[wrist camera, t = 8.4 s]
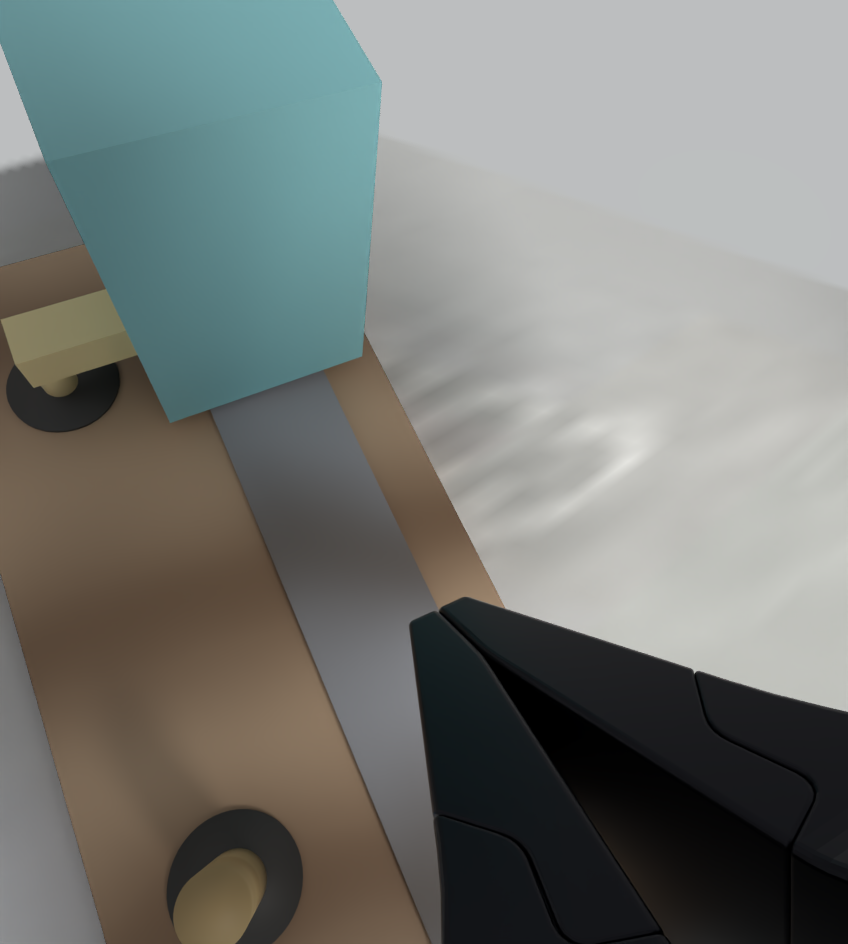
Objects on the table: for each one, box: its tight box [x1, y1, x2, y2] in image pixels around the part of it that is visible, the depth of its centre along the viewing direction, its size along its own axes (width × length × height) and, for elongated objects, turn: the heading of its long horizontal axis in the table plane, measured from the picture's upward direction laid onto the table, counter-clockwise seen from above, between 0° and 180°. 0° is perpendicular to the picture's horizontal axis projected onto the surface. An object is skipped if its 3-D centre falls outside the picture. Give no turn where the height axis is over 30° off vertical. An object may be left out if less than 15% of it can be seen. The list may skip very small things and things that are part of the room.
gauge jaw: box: [0, 0, 382, 423], centre depth 14 cm, size 4×7×8 cm, turn 115°
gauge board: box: [0, 244, 505, 944], centre depth 16 cm, size 22×10×5 cm, turn 25°
